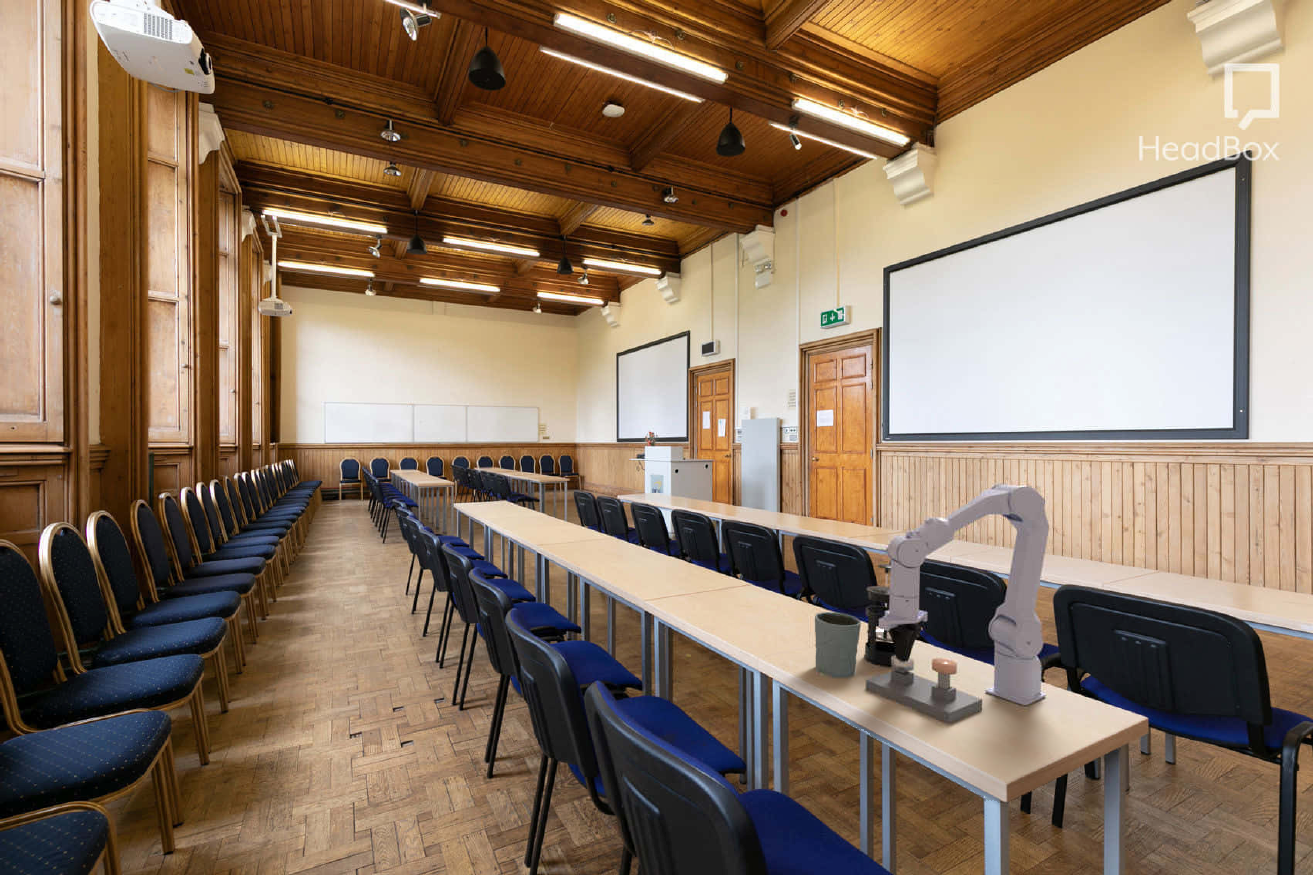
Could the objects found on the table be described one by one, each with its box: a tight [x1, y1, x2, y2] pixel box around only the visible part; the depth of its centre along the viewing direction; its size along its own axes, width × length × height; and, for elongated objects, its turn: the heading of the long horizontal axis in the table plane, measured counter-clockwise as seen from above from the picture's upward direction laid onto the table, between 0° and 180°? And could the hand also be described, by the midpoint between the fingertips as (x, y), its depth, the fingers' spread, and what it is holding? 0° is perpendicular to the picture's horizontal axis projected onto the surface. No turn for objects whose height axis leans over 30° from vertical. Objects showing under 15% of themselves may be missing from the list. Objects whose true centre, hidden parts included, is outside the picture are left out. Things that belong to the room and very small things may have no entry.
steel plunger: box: [891, 656, 915, 675], centre depth 124 cm, size 4×4×6 cm
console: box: [865, 668, 983, 725], centre depth 120 cm, size 12×18×4 cm, turn 35°
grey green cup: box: [814, 611, 862, 679], centre depth 134 cm, size 10×10×12 cm
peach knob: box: [931, 657, 958, 690], centre depth 117 cm, size 4×4×6 cm
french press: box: [863, 563, 896, 668], centre depth 142 cm, size 12×9×23 cm
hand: (902, 659), depth 124 cm, fingers closed, pressing on steel plunger
